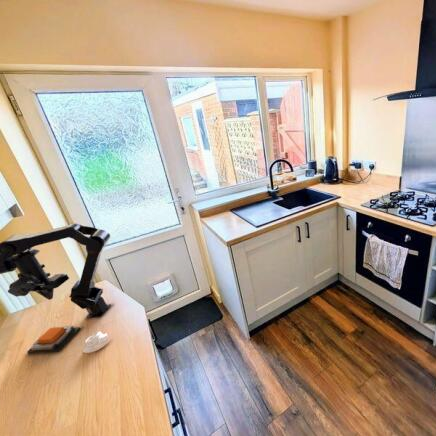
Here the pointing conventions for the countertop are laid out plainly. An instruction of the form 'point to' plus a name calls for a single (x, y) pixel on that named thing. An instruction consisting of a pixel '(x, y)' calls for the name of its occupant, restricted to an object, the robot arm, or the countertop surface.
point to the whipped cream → (95, 342)
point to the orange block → (51, 335)
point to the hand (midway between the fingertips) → (50, 299)
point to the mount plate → (57, 344)
